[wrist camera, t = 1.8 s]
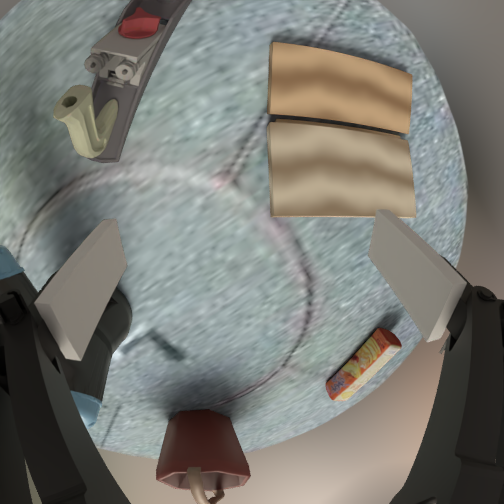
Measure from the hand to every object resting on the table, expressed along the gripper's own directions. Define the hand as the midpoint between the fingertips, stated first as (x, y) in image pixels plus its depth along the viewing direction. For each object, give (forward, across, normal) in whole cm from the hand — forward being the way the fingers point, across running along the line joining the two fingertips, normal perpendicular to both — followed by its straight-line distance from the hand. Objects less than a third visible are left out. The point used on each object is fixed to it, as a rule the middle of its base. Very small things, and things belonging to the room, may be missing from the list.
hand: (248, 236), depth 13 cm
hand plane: (+25, +14, -15) cm, 32 cm away
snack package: (+27, -26, +47) cm, 60 cm away
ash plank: (+24, -15, +3) cm, 28 cm away
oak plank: (+27, -15, -9) cm, 32 cm away
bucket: (+22, +14, +67) cm, 72 cm away
